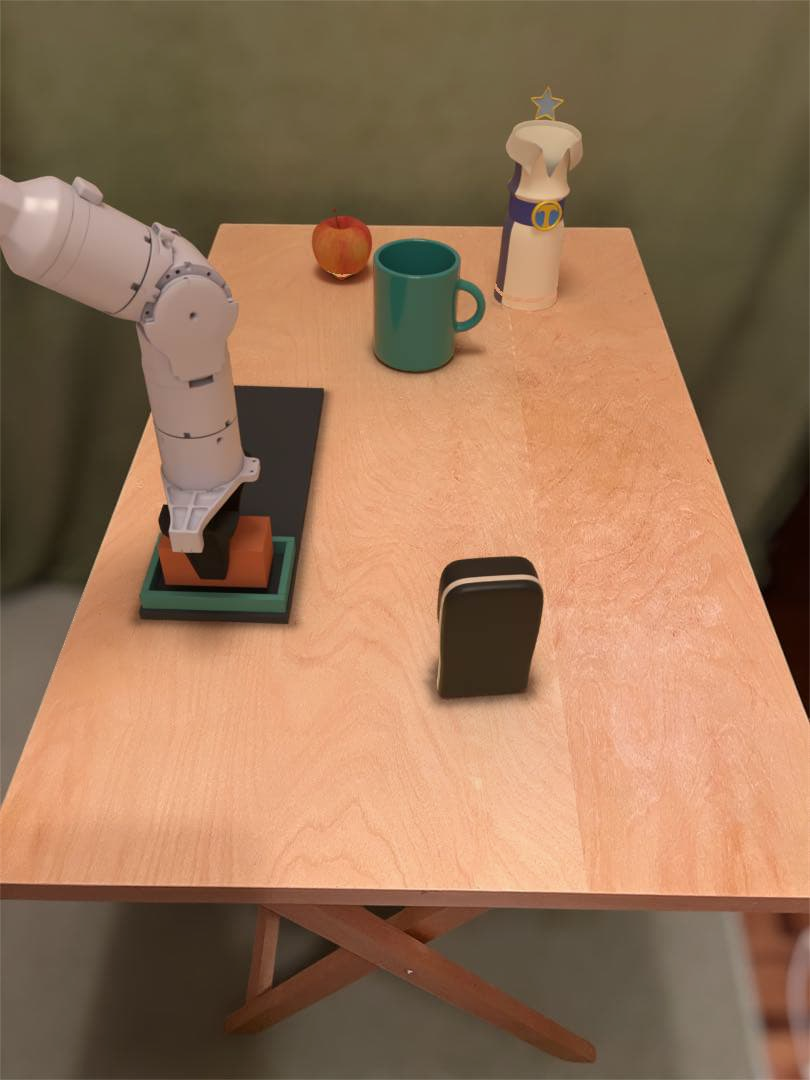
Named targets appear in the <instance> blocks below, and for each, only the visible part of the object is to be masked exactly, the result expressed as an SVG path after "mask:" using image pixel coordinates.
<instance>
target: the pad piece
mask: <svg viewBox="0 0 810 1080" xmlns="http://www.w3.org/2000/svg"><path fill="white" fill-rule="evenodd" d="M158 552H159V556H160V561H161V565H162V570H163V574H164V579H165V583H166V585H194V586H226V587H258V588H267V586H268V580H269V575H270V570H271V564H272V559H273V553H274V552H273V543H272V533H271V524H270V517H261V516H240V517H239V521H238V525H237V528H236V531H235V533H234V535H233V537H232V538H231V540H230V554H229V567H228V572H227V576H226V579H225V580H208V579H200V578H199V576H198V575H197V573H196V572H195V570H194V568H193V567H192V565H191V563H190V561H189V560H188V558H187V556H186V555H185V553H183V552H173V550H172V546H171V541H170V538H168V537H167V536H165V535H164V534H162V536H161V539H160V542H159V545H158Z"/></svg>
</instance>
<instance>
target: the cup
mask: <svg viewBox="0 0 810 1080" xmlns="http://www.w3.org/2000/svg"><path fill="white" fill-rule="evenodd" d="M372 260H373V261H372V263H373V264H372V268H373V269H372V280H373V281H372V314H373V315H372V319H373V320H372V337H373V338H372V346H373V351H374V354H375V356H376V357H377V358H378V360H379V361H380V362H382V363H383V364H384V365H386V366H388V367H391V368H393V369H396V370H399V371H404V372H415V373H416V372H427V371H431V370H435V369H438V368H441V367H442V366H444V365H446V364H447V363H448V362H449V361H450V360H451V359H452V358H453V356H454V354H455V350H456V340H457V339H456V337H457V334H459V333H465V332H468V331H470V330H472V329H474V328H475V327H477V326H478V325H479V324H480V323H481V321H482V320H483V318H484V317H485V313H486V309H487V308H486V307H487V303H486V299H485V295H484V293H483V291H482V290H481V289H480V288H479V286H477V285H476V284H474V283H473V282H471V281H469V280H466V279H462V277H461V265H462V258H461V255H460V253H459V252H458V251H457V249H455V248H454V247H452V246H450V245H448V244H446V243H445V242H442V241H438V240H434V239H429V238H419V237H417V238H415V237H414V238H413V237H412V238H401V239H396V240H391V241H389V242H386V243H384V244H382V245H381V246H379V247H378V248H376V250H375V252H374V253H373V257H372ZM461 291H464V292H466V293H468V294H470V295H471V296H472V297H473V299H474V300H475V302H476V303H475V304H476V310H475V312H474V314H473V315H472V316H471V317H469V318H468V319H465V320H463V321H458V311H459V310H458V309H459V298H460V297H459V294H460V292H461Z"/></svg>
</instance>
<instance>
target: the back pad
mask: <svg viewBox="0 0 810 1080" xmlns="http://www.w3.org/2000/svg"><path fill="white" fill-rule="evenodd" d="M234 392H235V400H236V408H237V416H238V425H239V433H240V441H241V447H242V450H245V451H247V452H249V453H250V454H251V455H252V458H257V459H258V460H259V461H260V472H259V476H258V479H257V480H255V481H253V482H245V484H244V486H243V489H242V494H241V501H240V512H241V513H240V516H261V517H270V524H271V533H272V543H273V552H274V553H273V559H272V564H271V570H270V575H269V580H268V586H267V588H258V587H226V586H194V585H166V583H165V579H164V574H163V570H162V565H161V561H160V556H159V552H158V545H159V542H160V539H161V536H162V532H159V534H158V536H157V540H156V543H155V546H154V548H153V552H152V555H151V558H150V561H149V565H148V567H147V571H146V574H145V576H144V579H143V583H142V586H141V589H140V592H139V600H140V607H139V611H138V615H139V618H140V620H157V621H159V620H160V621H187V622H189V621H194V622H222V623H225V622H226V623H252V624H253V623H254V624H256V623H257V624H282V625H283V624H287V625H288V624H289V622H290V614H291V607H292V601H293V595H294V589H295V583H296V582H295V581H296V575H297V570H298V563H299V556H300V550H301V543H302V538H303V532H304V524H305V518H306V512H307V506H308V500H309V492H310V486H311V480H312V475H313V473H312V472H313V466H314V461H315V460H314V459H315V454H316V448H317V441H318V435H319V427H320V422H321V416H322V410H323V409H322V408H323V403H324V396H325V389H324V387H303V386H301V387H300V386H298V387H297V386H268V385H265V386H264V385H238V384H234Z"/></svg>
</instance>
